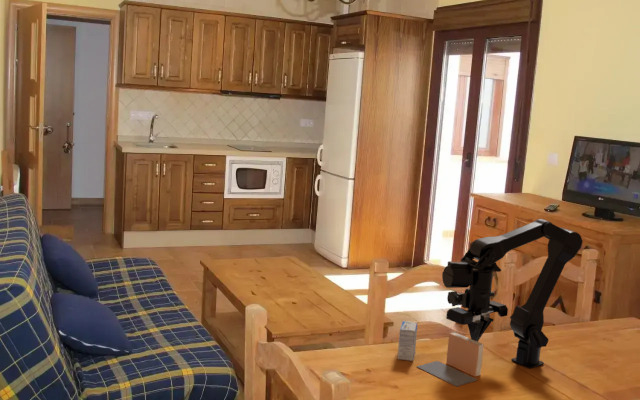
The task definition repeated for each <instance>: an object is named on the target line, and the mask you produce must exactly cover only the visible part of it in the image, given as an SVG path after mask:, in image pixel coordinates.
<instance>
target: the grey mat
mask: <svg viewBox="0 0 640 400" xmlns="http://www.w3.org/2000/svg"><path fill="white" fill-rule="evenodd" d="M416 368H417V369H420V370H422V371H424V372H426V373H428V374H430V375H432V376H433V377H436V378H438V379H440V380H443V381H444V382H447V383H448V384H450V385H452V386H455V387H460V386H463V385H466V384H469V383H470V384H471V383H473V382H476V381H478V378H475V377H474V376H472V375H470V374H468V373H466V372H464V371H463V372H462V371H461V370H459V369H457V368H455V367H453V366H452V367H451V365H448V364H445V363H443V362H441V361H439V360H436V361H432V362H428V363H423V364H420V365H417V366H416Z"/></svg>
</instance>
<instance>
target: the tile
mask: <svg viewBox="0 0 640 400" xmlns="http://www.w3.org/2000/svg"><path fill="white" fill-rule="evenodd" d="M447 345H448V346H447V353H446V365H448V366H450V367H451V366H452V368H454V369H457V370H459V371H461V372H462V371H463V373H465V374H467V375H470V376H472V377H478V376H481V373H482V363H483V355H484V345H485V344H484V343H482V342H479V341H478V342H477V341H475V340H472V339H471V337H467V336H465V335H463V334H460V333H458V332H450V333H449V334H448V343H447Z"/></svg>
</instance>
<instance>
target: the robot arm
mask: <svg viewBox="0 0 640 400" xmlns="http://www.w3.org/2000/svg"><path fill="white" fill-rule="evenodd" d="M541 238H546V239H547V240H548V243H547V258H546V260H545V262H544V265H543V266H542V269H541V271H540V272H539V274H538V277H537V279H536V281H535V284H534V286H533V288H532V290H531V292H530V294H529V297H528V298H527V300H526V302H525V303H524V304H523V305H521V306H519V305H515V307H514V310H513V312H512V314H511V315H510V316H509V319H510V321H509V326H510V329H511V331H512V332H513V335H514V337H515V338H517V339H519V340H518V341H517V347H516V356H515V357H513V358H511V361H512V362H514V363H516V364H519V365H521V366H523V367H526V368H528V369H533V368H536V367H538V366H541V365H544V364H545V362H544V361H542V360H540V357H541V351H542V350H541V348H543V347H545V348H546V347H547V345H548V343H549V338H548V337H547V336H546V334H545V333H544V332H543V331H542V330H543V327H544V324H545V321H544V320H545V318H544V310H545V308H546V306H547V304H548V301H549V300H550V298H551V296H552V293H553V291H554V289H555V287H556V285H557V283H558V281H559V279H560V276H561V274H562V272H563V270H564V267H565V266H566V264H567V263H568V262H570V261H571V260H573V259H574V258H575V257H576V256H577V254H578V253H579V252H580V249H581V247H582V246H583V242H584V241H583V239H582V236H581V234H580V233H579V232H577V231H574V230H572V229H571V230H570V229H567V228H564V227H559V226H557V225H555V224H554V223H553V222H551V221H549V220H545V219H543V218H539V219H536V220H534V221H532V222H530V223H528V224H526V225H524V226H521V227H518V228H515V229H513V230H510V231H508V232H506V233H504V234H501V235H497V236H486V237H481V238H477V239H475V240H473V241H472V242H471V245H470V248H469V249H468V250H467V252H465V254H464V255H463V256H462V258H461V259H460V261H447V266H445V267H444V269H443V271H442V272H441V273H442V275H441V277H442V283H443V286H444V287H445V288H448V289H452V288H453V289H454V288H456V289H457V288H458V289H459V288H460V289H461V288H465V290H464V292H461V293H458V292H457V291H456V290H454V291H449V292H448V293H447V299H446V300H447V303H448V304H449V305H450V304H451V307H452V308H449V309H448V310H446V317H445V318H446V320H449V321H451V322H454V323H456V324H459V325H463V326H466V325H467V329H468V331H469V336H470V339H472V340H475V341H477V342H479V340H480V339H481V337H482V336H483V334H484V333H485V331H486V330H487V329H488V327H489V326H490V325H491V323H492V322H494V318H492V317H490V316H491V315H490V314H493V313H497V314H498V317H500V318H503V317H507V316H508V314H509V313H508V312H509V308H508V306H507V305H506V304H504V303H501V302H499V301H495V300H491V297H494V296H495V292H494V291H492V287H493V277H494V272H495V273H498V272H499V273H500V272H502V269H501V268H500V267H499V265H498V264H497V262H498V261H500V260H502V259H503V258H504V257H505V256H506V254H507V253H509V252H510V251H513V250H515V249H517V248H520V247H523V246H525V245H528V244H529V243H532V242H534V241H536V240H538V239H539V240H540V239H541ZM474 259H475V260H474ZM476 260H477V261H476ZM468 287H469V288H468ZM457 306H458V307H457ZM459 306H461V307H462V308H461V307H459Z"/></svg>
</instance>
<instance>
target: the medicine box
mask: <svg viewBox="0 0 640 400" xmlns="http://www.w3.org/2000/svg"><path fill="white" fill-rule="evenodd" d="M417 333H418V322H417V321H416V322H414V321H408V320H404V321H403V320H402V322H401V325H400V329H399V333H398V334H399V336H398V348H397V360H404V361H411V362H413V361H414V359H415V355H416V348H417V346H416V345H417V336H418V335H417Z"/></svg>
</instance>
